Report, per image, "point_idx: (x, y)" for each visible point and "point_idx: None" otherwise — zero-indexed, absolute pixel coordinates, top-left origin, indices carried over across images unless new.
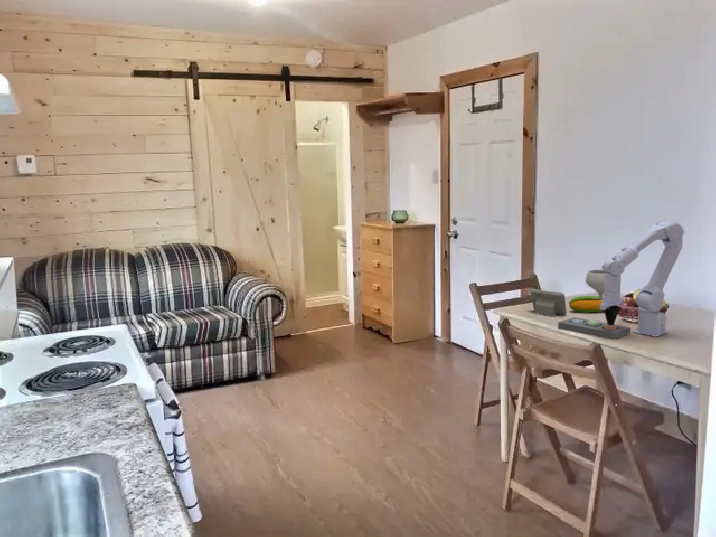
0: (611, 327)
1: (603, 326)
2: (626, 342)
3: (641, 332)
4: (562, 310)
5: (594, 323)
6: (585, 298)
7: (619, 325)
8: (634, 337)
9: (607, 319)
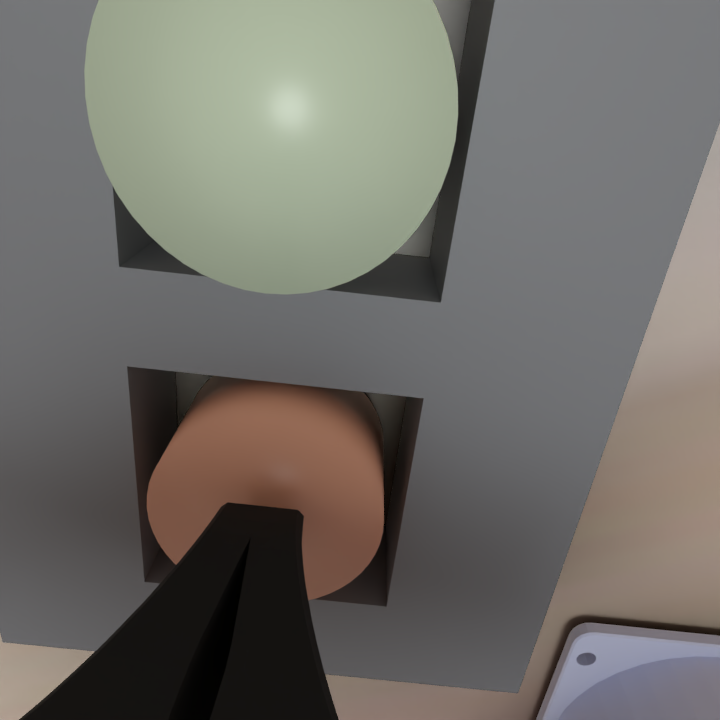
0: None
1: (290, 364)
2: (61, 670)
3: (564, 712)
4: None
5: (143, 203)
6: None
7: (560, 556)
8: (342, 676)
9: (175, 600)
